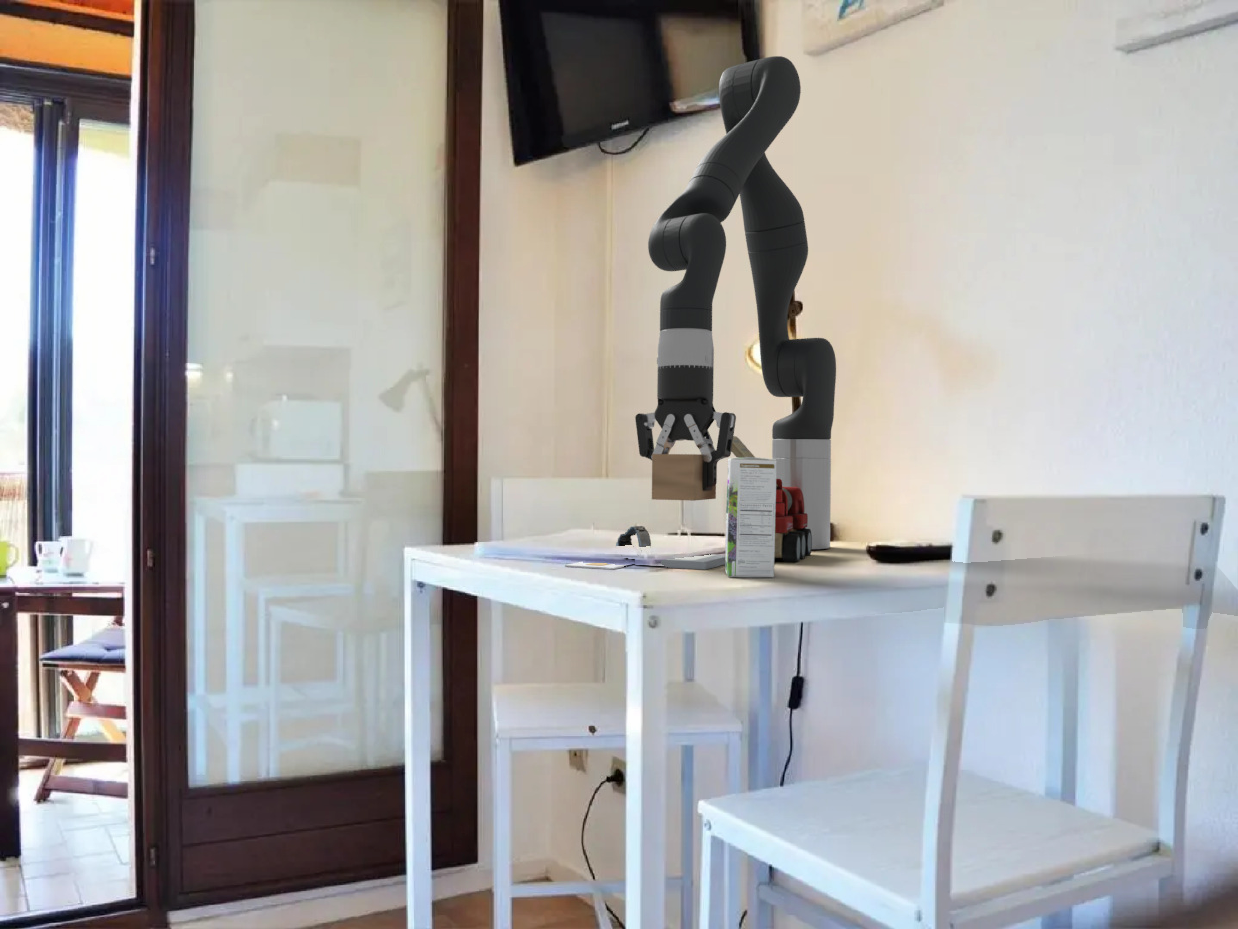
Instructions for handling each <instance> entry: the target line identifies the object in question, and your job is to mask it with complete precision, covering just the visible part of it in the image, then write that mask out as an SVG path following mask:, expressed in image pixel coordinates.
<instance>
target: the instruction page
mask: <svg viewBox="0 0 1238 929" xmlns="http://www.w3.org/2000/svg"><path fill="white" fill-rule="evenodd" d="M624 566H625V565H615V564H607V563H583V561H579V562H574V563H568V564H564V568H565V567H567V568H568V567H569V568H582V569H584V568H585V569H598V570H599V569H600V570H601V569H602V570H617V569H621V568H625V567H624Z"/></svg>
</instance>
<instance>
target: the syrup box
mask: <svg viewBox="0 0 1238 929" xmlns="http://www.w3.org/2000/svg"><path fill="white" fill-rule="evenodd" d="M755 457H756V456H755ZM755 457H728V459H727V479H726V480H727V481H726V482H727V483H726V487H727V488H726V510H725V512H726V513H725V552H724V553H725V554H724V555H725V565H724V570H725V573H726V576H728V578H775V560H776V558H775V512H776V459H772V458H765V457H756V458H755Z"/></svg>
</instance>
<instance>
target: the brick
mask: <svg viewBox="0 0 1238 929" xmlns="http://www.w3.org/2000/svg"><path fill="white" fill-rule="evenodd" d="M703 463H705V461H704V459H703V457H702V455H701V453H700V454H699V453H698V454H695V453H693V454H692V453H691V454H687V453H684V454H683V453H681V454H680V453H679V454H677V453H676V454H675V453H674V454H673V453H671V454H670V453H669V454H652V460H651V500H654V501H655V500H663V501H703V500H704V501H705V500H715V499H716V497H717V495H716V493H717V492H716V490H717V484H716V485H715V486H713V489H712V491H703V489H702V472H703Z"/></svg>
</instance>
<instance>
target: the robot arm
mask: <svg viewBox="0 0 1238 929" xmlns="http://www.w3.org/2000/svg"><path fill="white" fill-rule="evenodd" d="M801 91H802V90H801V79H800V76H799V73H798V70H797V68H796V67H795V65H794V63H793V62H792V61H791V60H790V59H789V58H787V57H785V56H782V55H781V56H779V55H777V56H767V57H764V58H763V57H762V58H760V59H759V58H758V59H756V60H752V61H747V62H744V63H740V64H735V65H733V66H732V65H731V66H730V67H727V68H726V69H725V70H724V71H723V72H722V74H721V76H720V79H719V84H718V99H719V107H720V112H721V117H722V122H723V124H724V130H725V135H724V136H722V137H721V138H720V139H719V140H718V141H716V143H715V144H714V145H713V146H712V147H711V148H710V149H709V150H708V151H706V153H705V154H704V155H703V157H702V158H701V159H700V161H699V163H698V165H697V166H696V168H695V170H694V172H693V174H692V175H691V177H690V179H689V181H688V183H687V186H686V187H685V189H684V191H683V192H682V193H681V194H679V195H678V196H677V197H676V198H675V199H674V200H673V201H672V203H670V205H668V207H667V208H666V209H665V210H663V212H662V213H661V215H660V216H658V218H657V220H656V221H655V223H654V224H653V226H652V228H651V231H650V233H649V237H648V240H647V241H648V242H647V245H648V246H647V248H648V249H647V250H648V255H649V258H650V259H651V262H652V263H653V264H654V266H656V267H657V268H658V269H659V270H662V271H665V272H679V271H680V272H681V271H685V273H684V275H683V278H682V279H681V281H679V283H677V284H675V285H673V286H670V287H667V289H665V290H664V291H663V292H662V293H661V295H660V301H659V302H660V303H659V304H660V305H659V309H660V310H659V311H660V312H659V338H658V345H657V357H656V364H657V384H656V385H657V387H656V388H657V389H656V390H657V391H656V393H657V394H656V395H657V397H656V398H657V399H656V400H657V406H656V409H655V410H654V412H650V413H636V415H635V416H634V418H635V426H636V427H635V428H636V434H637V442H638V451H639V456H640V457H642V458H646V459H649V460H650V461H652V454H670V452H671V450H672V448H673V447H674V446H675V444H676V441H677V442H679V441H680V442H681V441H693V442H694V444H695V446H696V447H697V449H699V452H700V454H701V455H702V457H703V459H704V461H705V463H703V472H702V489H703V491H712V489H713V486H715V485H716V486H717V480H718V477H717V476H718V475H717V472H718V470H717V469H718V462H719V461H720V460H724V459H726V458H730V457H731V455H732V452H731V449H732V442H733V436H735V435H734V434H735V429H736V427H735V426H736V421H737V416H736V414H735V413H734V412H727V411H726V412H717V411H716V409H715V407H714V404H713V403H714V358H715V356H714V354H715V352H714V351H715V348H714V340H713V300H714V296H715V293H716V291H717V290H716V289H717V286H718V283H719V278H720V274H721V272H722V267H723V264H724V260H725V257H726V256H725V255H726V249H727V237H726V232H725V230H724V226H723V225H722V223H723V222H724V221H725V220H726V219H727V218H728V216H730V214H731V213H732V210H733V208H734V205H736V202H737V199H739V198H740V199H739V200H740V204H741V212H742V213H741V214H742V219H743V227H744V228H743V229H744V236H745V242H746V249H747V254H748V255H747V256H748V260H749V265H750V268H751V270H750V271H751V275H752V277H751V278H752V283H753V288H754V289H753V290H754V295H755V302H756V313H757V323H758V324H757V326H758V339H759V342H758V343H759V352H760V355H759V356H760V365H761V366H760V367H761V372H762V378H763V382H764V384H765V387H766V389H767V390H768V391H767V392H769V394H771V395H772V396H773V397H775V398H776V397H777V398H801V397H802V400H801V403H800V406H799V407H798V408H797V409H796V410H795V411H794V412H792V413H790V414H789V415H787V416H785V417H783V418H780V419H778V420H776V421H775V422H774V423H773V425H772V429H771V433H772V443H771V444H772V445H771V446H772V449H771V450H772V452H771V453H772V454H771V457H772V458H771V459H776V479H781V480H782V487H798V488H800V489H801V491H802V493H803V498H804V513H807V515H808V524H807V527H805V528H806V529H810V530H811V535H812V550H825V549H830V547H831V496H832V495H831V494H832V493H831V490H832V489H831V485H832V482H831V481H832V480H831V476H832V475H831V474H832V473H831V472H832V457H831V456H832V440H831V439H832V428H833V423H834V418H835V416H834V415H835V394H836V383H837V382H836V380H837V364H836V363H837V359H836V354H835V350H834V347H833V345H832V344H831V342H830V341H829V340H828V339H826V338H823V337H807V338H805V337H804V338H794V339H793V338H791V339H790V337H789V336H790V335H789V330H788V315H789V313H788V312H789V307H790V303H791V299H792V297H793V294H794V291H795V289H796V288H797V285H798V283H799V281H800V278H801V276H802V273H803V271H804V269H805V267H806V263H807V261H808V260H807V259H808V257H809V256H808V255H809V244H808V237H807V236H808V235H807V228H806V222H805V216H804V212H803V208H802V205H801V203H800V202H799V201H798V199H797V197H796V195H795V193H793V191H792V190H791V189H790V188H789V186H788V185H787V183H786V182H784V181H783V179H782V178H781V176H780V175H779V174H778V173H777V172H776V171H775V169H774V168H773V165H772V164H771V163H770V160H769V159H768V157H767V154H766V151H767V150H768V149H769V148H770V146H771V144H772V143H773V142H774V141H775V140H776V138H777V136H778V135H780V133H781V131H782V130H783V129H784V128H785V126H786V125H787V124H788V123H789V121H790V120H791V119H792V117H793V115H794V114H795V112H796V110H797V108H798V106H799V103H800V100H801ZM714 421H715V422H716V423H715V424H716V427H717V428H718V437H717V444H716V449H715V446H714V442H713V439H712V437H711V434H710V432H709V429H710V427H711V425H712V424H713V422H714ZM656 422H657V425H659V426H660V428H661V431H660V433H659V435H658V437H657V440H656V444H655V443H654V436H653V429H654V427H655V423H656ZM654 444H655V445H656V446H654Z"/></svg>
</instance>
